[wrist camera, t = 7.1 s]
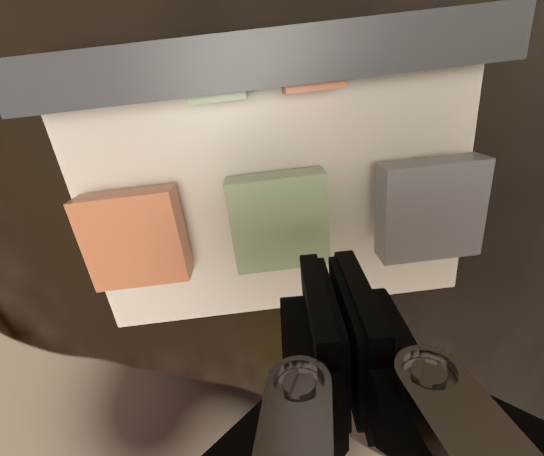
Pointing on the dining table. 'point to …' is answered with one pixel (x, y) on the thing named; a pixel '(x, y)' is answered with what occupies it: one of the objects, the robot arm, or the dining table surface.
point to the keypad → (267, 129)
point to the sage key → (278, 218)
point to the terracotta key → (132, 236)
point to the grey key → (431, 207)
